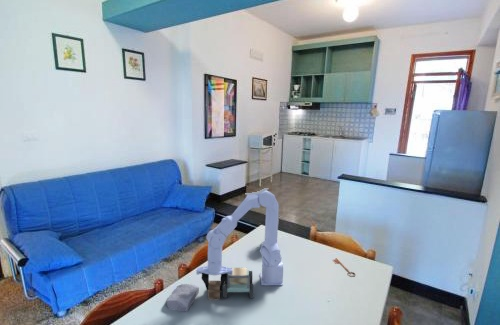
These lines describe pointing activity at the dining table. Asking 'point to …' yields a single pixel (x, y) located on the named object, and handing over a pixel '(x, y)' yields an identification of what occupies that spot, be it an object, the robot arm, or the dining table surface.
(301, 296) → the dining table surface
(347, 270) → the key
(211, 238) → the robot arm
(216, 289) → the walnut chock
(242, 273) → the dark framed glass box
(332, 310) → the dining table surface
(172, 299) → the stone block
